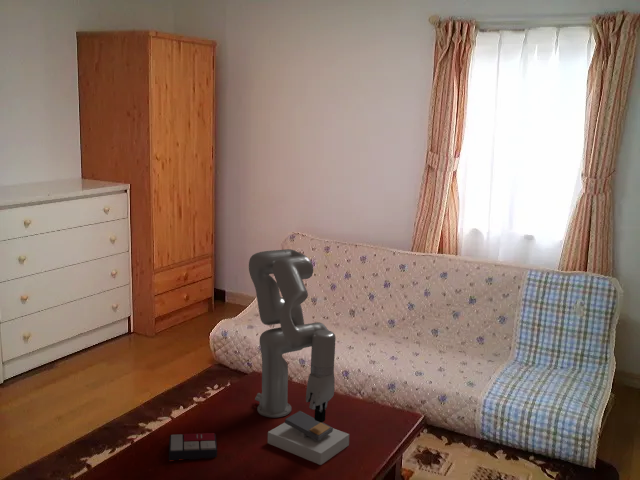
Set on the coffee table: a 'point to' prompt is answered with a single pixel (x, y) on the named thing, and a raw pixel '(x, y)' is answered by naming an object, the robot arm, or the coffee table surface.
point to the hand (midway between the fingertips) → (319, 420)
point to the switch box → (308, 443)
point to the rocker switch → (308, 425)
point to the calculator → (192, 446)
